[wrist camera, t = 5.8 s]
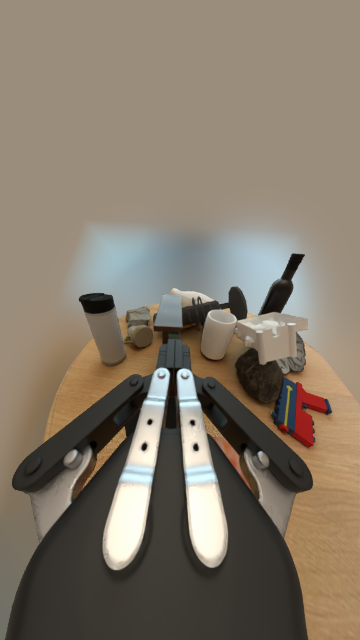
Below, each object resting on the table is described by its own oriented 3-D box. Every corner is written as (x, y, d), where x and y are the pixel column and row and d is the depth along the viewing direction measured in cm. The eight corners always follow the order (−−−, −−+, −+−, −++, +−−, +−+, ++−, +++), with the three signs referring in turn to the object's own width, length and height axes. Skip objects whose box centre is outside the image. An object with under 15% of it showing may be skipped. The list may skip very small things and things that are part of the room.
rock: (255, 411, 27) (274, 376, 23) (224, 371, 37) (234, 342, 33) (287, 402, 30) (309, 370, 27) (251, 367, 40) (263, 340, 36)
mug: (138, 329, 51) (147, 313, 45) (147, 351, 47) (159, 336, 41) (118, 333, 45) (126, 315, 39) (128, 357, 42) (138, 341, 36)
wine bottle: (265, 334, 53) (308, 254, 38) (265, 341, 49) (313, 255, 33) (251, 329, 56) (285, 252, 40) (249, 336, 51) (287, 253, 36)
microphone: (240, 331, 47) (162, 346, 49) (228, 303, 54) (160, 318, 56) (252, 309, 35) (149, 330, 37) (234, 277, 42) (148, 296, 44)
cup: (216, 342, 47) (226, 308, 39) (230, 360, 40) (245, 323, 32) (195, 345, 44) (201, 309, 37) (205, 365, 38) (215, 326, 30)
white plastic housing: (266, 310, 37) (268, 334, 38) (226, 320, 37) (229, 343, 39) (313, 320, 24) (314, 355, 26) (252, 334, 24) (256, 368, 26)
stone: (146, 312, 62) (145, 303, 60) (156, 324, 54) (156, 315, 52) (121, 318, 56) (119, 308, 54) (129, 332, 49) (127, 322, 46)
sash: (175, 383, 27) (180, 335, 20) (167, 383, 27) (168, 334, 20) (176, 360, 32) (179, 315, 25) (169, 360, 32) (170, 315, 25)
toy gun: (342, 470, 20) (273, 418, 25) (335, 471, 21) (269, 422, 26) (330, 399, 30) (281, 372, 35) (325, 402, 31) (278, 376, 36)
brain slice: (255, 378, 37) (262, 377, 35) (236, 327, 46) (240, 323, 43) (311, 371, 40) (321, 369, 37) (283, 324, 49) (290, 320, 46)
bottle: (216, 314, 48) (165, 287, 57) (209, 331, 56) (165, 305, 65) (228, 300, 54) (180, 278, 63) (219, 317, 63) (178, 295, 71)
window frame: (175, 397, 30) (182, 327, 19) (157, 396, 29) (153, 325, 19) (176, 353, 41) (181, 295, 30) (163, 353, 41) (162, 294, 30)
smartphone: (132, 468, 20) (204, 415, 27) (131, 466, 20) (204, 413, 27) (123, 419, 26) (185, 385, 33) (122, 417, 25) (185, 383, 32)
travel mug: (96, 363, 36) (69, 296, 25) (113, 347, 41) (96, 287, 31) (115, 369, 35) (94, 302, 24) (130, 352, 40) (118, 291, 30)
